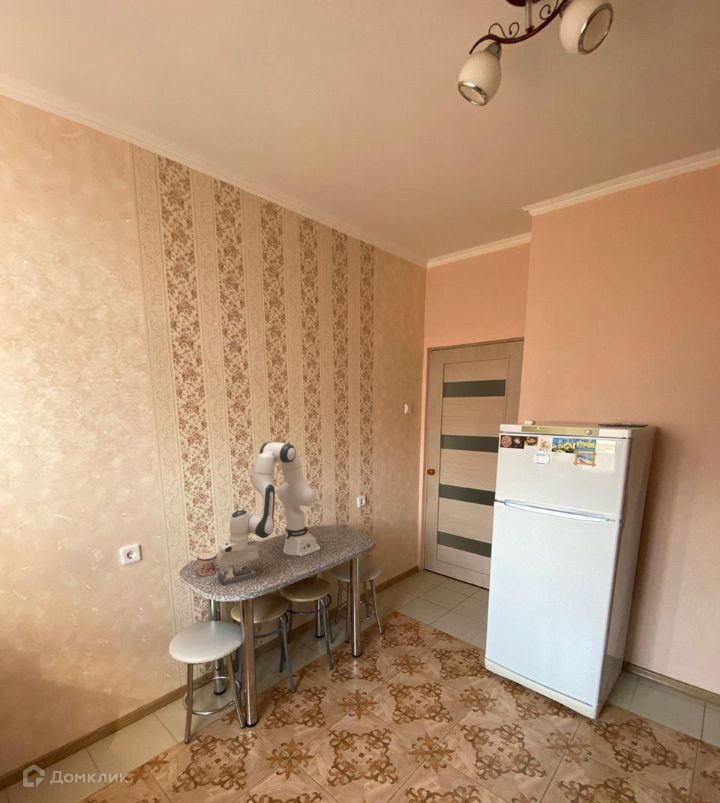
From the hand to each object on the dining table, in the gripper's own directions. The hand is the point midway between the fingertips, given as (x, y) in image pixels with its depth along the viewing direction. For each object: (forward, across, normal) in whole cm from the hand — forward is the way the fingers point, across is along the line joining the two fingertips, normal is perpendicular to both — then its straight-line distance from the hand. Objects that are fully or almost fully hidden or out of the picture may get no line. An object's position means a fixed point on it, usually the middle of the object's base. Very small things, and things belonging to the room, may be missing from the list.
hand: (237, 571), depth 183 cm
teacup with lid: (+4, +10, -15) cm, 19 cm away
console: (+4, -1, -3) cm, 5 cm away
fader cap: (+2, +4, 0) cm, 4 cm away
